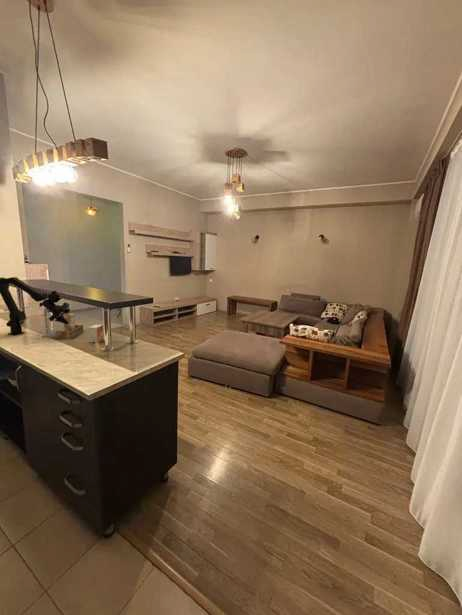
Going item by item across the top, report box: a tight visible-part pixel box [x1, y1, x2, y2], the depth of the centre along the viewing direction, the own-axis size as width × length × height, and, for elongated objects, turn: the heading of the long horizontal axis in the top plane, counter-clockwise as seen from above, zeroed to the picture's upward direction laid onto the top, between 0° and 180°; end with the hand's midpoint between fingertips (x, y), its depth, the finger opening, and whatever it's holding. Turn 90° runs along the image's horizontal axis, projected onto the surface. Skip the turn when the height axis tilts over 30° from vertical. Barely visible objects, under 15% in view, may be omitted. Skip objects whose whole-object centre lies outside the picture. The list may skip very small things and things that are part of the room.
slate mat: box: [41, 330, 56, 338], centre depth 173 cm, size 11×12×1 cm
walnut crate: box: [55, 324, 84, 340], centre depth 174 cm, size 10×17×5 cm, turn 9°
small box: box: [88, 324, 104, 344], centre depth 166 cm, size 8×6×10 cm
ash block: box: [63, 312, 76, 331], centre depth 173 cm, size 5×5×13 cm
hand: (70, 323), depth 173 cm, fingers closed on ash block, 5 cm apart
